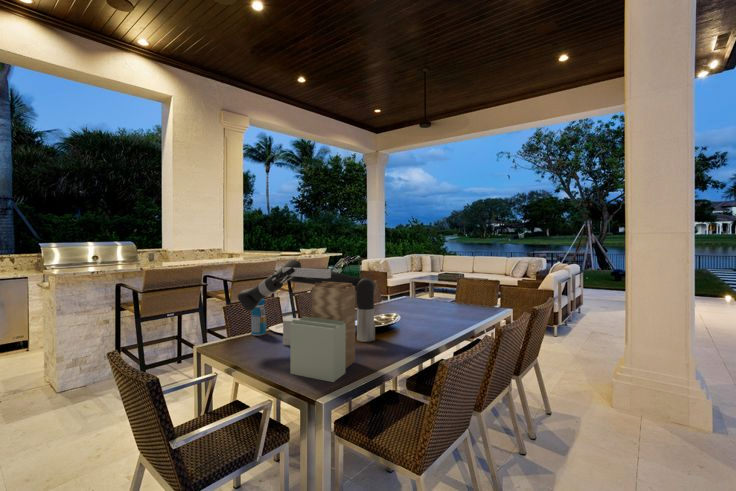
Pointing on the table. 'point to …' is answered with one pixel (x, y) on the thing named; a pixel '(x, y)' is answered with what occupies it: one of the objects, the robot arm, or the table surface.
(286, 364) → the table surface
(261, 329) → the beverage bottle
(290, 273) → the robot arm
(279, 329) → the plate
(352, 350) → the oak stand
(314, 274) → the steel bar
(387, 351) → the table surface
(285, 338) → the supplement box
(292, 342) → the sage dock
